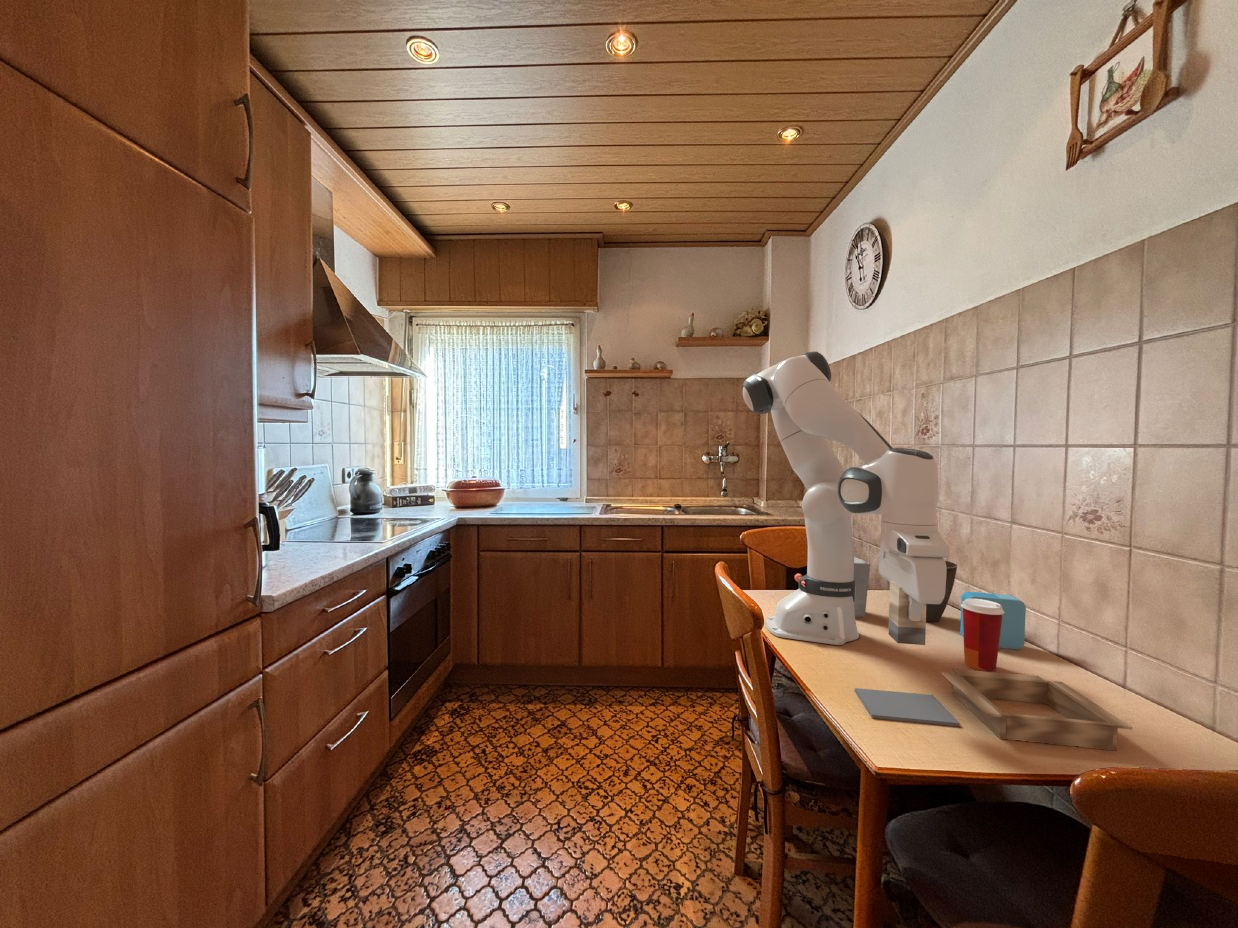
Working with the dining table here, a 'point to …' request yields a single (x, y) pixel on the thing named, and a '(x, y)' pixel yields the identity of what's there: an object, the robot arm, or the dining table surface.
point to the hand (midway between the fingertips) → (906, 614)
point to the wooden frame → (1080, 729)
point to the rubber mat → (905, 707)
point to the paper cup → (981, 633)
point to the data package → (1004, 618)
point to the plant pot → (937, 610)
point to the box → (904, 619)
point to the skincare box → (861, 586)
